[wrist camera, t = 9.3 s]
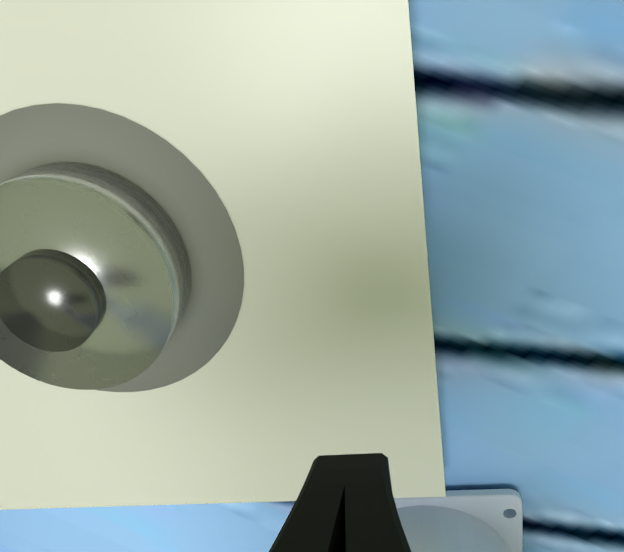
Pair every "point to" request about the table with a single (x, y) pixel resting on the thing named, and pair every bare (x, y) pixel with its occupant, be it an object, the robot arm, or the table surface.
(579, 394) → the table surface
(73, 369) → the dial
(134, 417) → the panel
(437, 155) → the table surface
